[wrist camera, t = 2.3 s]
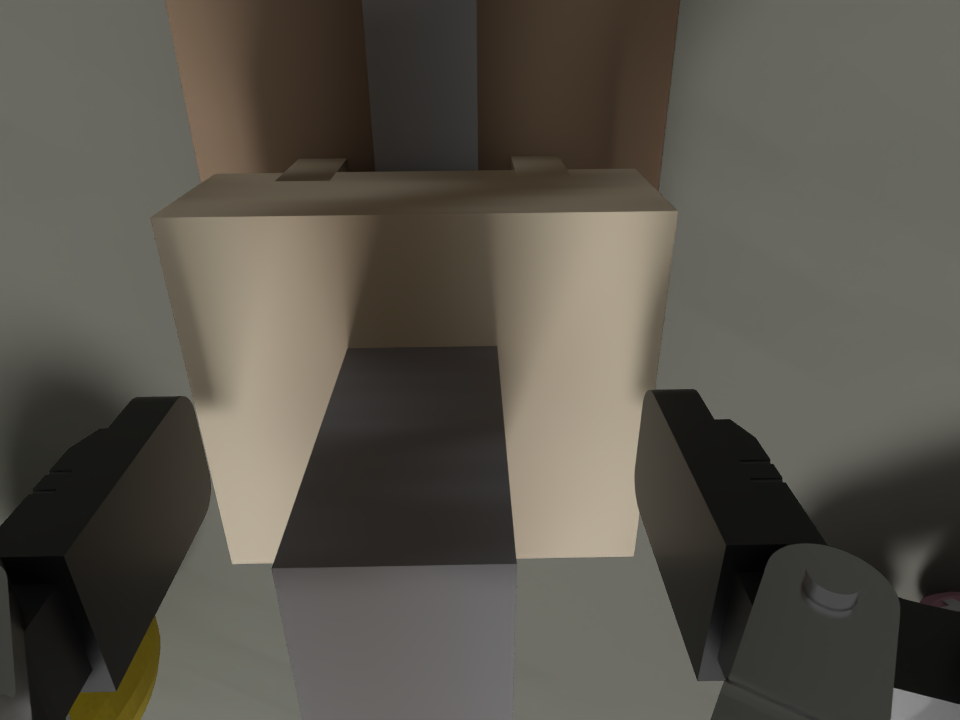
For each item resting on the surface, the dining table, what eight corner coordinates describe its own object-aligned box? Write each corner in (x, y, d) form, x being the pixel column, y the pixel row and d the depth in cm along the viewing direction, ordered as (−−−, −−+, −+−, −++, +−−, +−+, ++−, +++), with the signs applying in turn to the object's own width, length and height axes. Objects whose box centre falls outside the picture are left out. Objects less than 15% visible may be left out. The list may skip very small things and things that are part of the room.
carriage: (621, 154, 14) (835, 365, 6) (597, 435, 17) (713, 822, 9) (235, 159, 14) (-88, 379, 6) (283, 440, 17) (118, 836, 9)
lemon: (-19, 542, 21) (-260, 810, 14) (128, 485, 20) (-50, 741, 13) (93, 653, 24) (-65, 929, 17) (230, 606, 23) (124, 878, 16)
